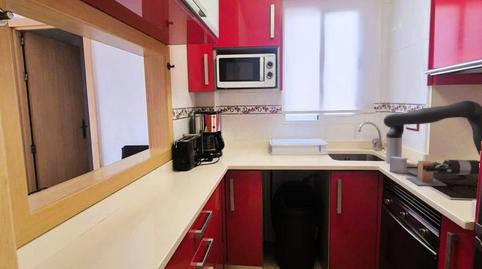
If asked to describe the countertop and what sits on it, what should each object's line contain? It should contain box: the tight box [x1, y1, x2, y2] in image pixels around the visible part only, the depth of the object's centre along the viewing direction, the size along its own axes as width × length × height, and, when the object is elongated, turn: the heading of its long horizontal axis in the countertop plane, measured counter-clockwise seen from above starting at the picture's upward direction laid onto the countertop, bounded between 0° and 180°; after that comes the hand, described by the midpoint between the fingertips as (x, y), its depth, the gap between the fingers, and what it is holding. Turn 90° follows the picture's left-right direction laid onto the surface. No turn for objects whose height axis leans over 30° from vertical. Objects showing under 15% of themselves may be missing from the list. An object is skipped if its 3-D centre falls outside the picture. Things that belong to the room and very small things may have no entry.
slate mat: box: [405, 177, 447, 187], centre depth 142 cm, size 13×13×1 cm
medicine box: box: [389, 156, 408, 174], centre depth 162 cm, size 8×4×9 cm, turn 41°
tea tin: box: [417, 160, 434, 182], centre depth 141 cm, size 5×5×10 cm
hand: (421, 167), depth 141 cm, fingers open, 8 cm apart
